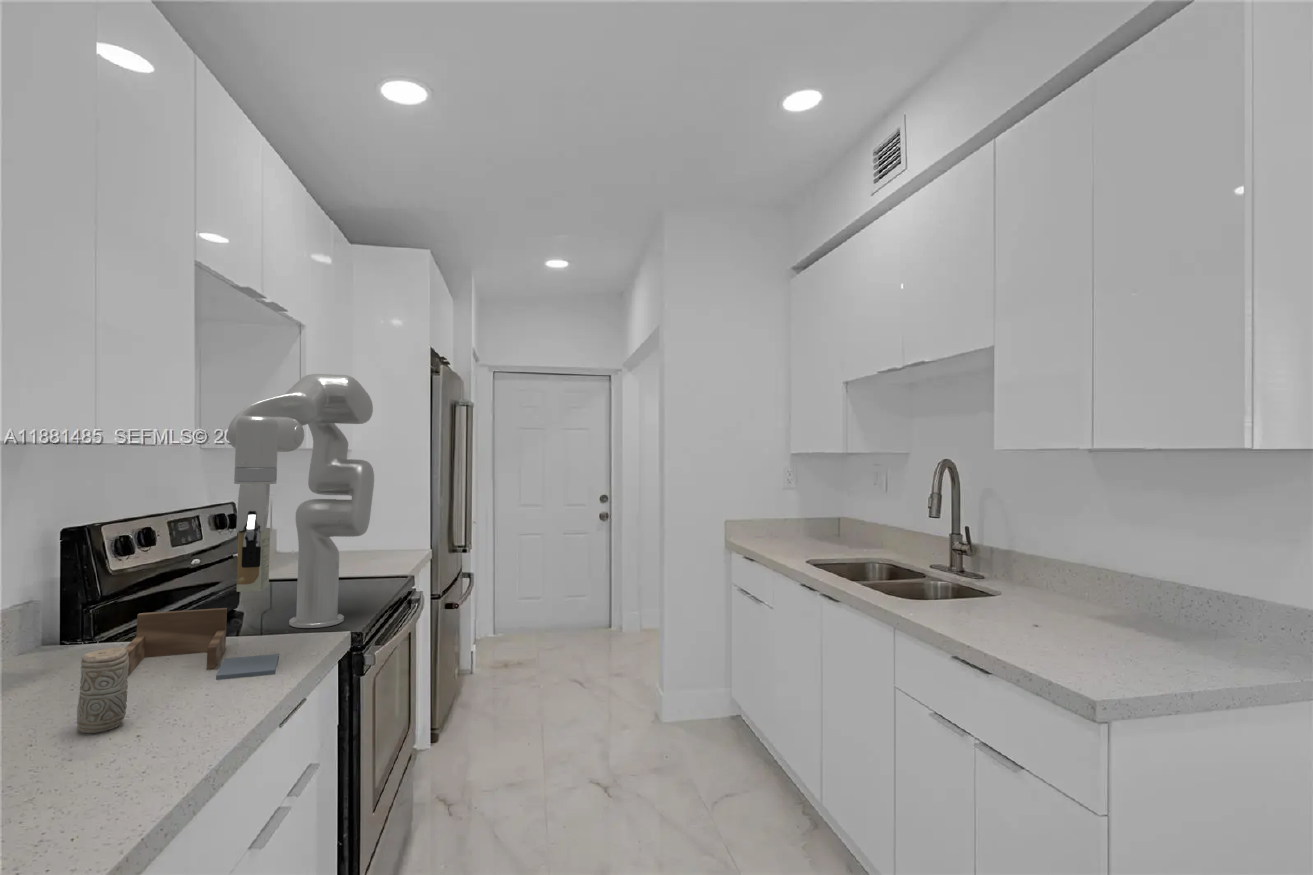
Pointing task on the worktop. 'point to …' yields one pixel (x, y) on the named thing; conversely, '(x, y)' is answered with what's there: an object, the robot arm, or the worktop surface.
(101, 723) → the carving
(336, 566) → the robot arm
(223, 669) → the slate pad
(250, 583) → the skincare box
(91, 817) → the worktop surface
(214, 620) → the shelf bay
